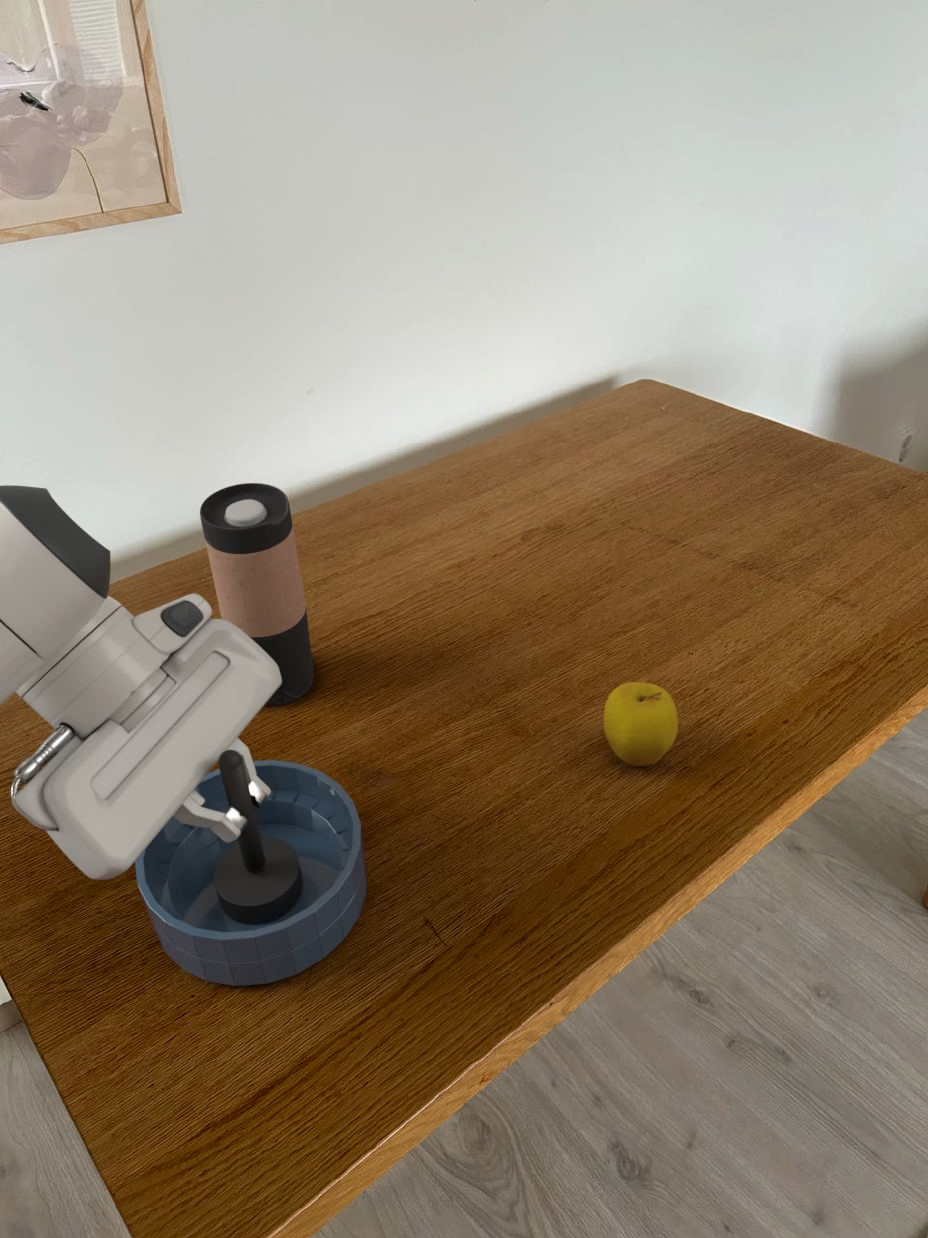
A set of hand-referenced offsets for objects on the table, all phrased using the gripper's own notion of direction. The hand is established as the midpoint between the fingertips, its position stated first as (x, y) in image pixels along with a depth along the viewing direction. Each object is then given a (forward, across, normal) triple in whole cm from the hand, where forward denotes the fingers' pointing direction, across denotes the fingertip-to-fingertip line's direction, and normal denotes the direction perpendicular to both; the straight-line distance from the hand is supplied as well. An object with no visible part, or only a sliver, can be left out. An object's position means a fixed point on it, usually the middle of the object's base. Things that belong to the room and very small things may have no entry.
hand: (250, 817), depth 70 cm
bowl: (+6, 0, +7) cm, 10 cm away
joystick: (+6, 0, +7) cm, 9 cm away
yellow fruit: (+23, +25, -9) cm, 35 cm away
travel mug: (-2, +22, +16) cm, 27 cm away
